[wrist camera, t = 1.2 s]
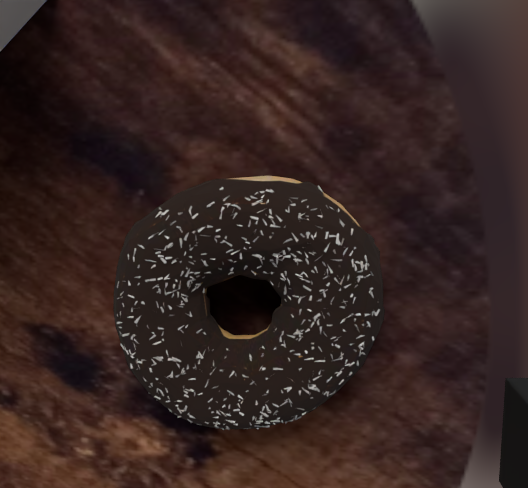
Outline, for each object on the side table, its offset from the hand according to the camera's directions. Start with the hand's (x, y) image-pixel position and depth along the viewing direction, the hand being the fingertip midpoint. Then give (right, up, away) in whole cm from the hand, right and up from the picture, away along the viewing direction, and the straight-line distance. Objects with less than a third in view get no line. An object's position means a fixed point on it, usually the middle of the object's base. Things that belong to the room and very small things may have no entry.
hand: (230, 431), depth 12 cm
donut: (0, +2, +11) cm, 11 cm away
